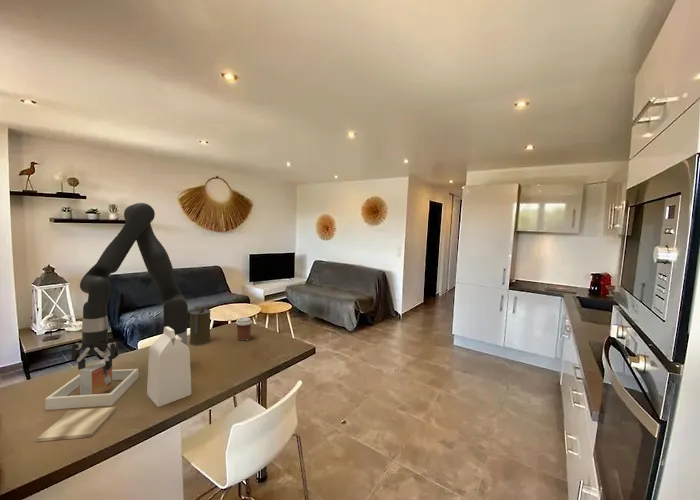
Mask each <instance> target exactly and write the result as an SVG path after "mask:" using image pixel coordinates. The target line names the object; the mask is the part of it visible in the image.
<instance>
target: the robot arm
mask: <svg viewBox="0 0 700 500" xmlns="http://www.w3.org/2000/svg"><path fill="white" fill-rule="evenodd" d="M155 213H156V212H155V209H154V208H153V207H152V206H151V205H150V204H148V203H145V202H138V203H133V204H131V205H129V206H127V207H126V208H125V209H124V212H123V218H124V220H125V223H124V225H123V227H122V228H121V229H120V231H119V233H117V235H116V236H115V237H114V238H113V239H112V241H111V242H110V243H109V244H108V245H107V246H106V248H104V250H103V252H102V254H101V255H100V256H99V259H97V262H96V263H95V264H94V265H93V266H92V267H91V268H89V270H88V271H87V272H86V273H85V274H84V276H83V277H82V278H81V280H80V283H79V289H80V290H81V291H82V292H83V293H84V294H87V295H88V296H87V301H85V303H83V307H82V321H81V322H82V323H81V342H82V343H81V342H75V343H74V344H72V346H71V357H70V358H71V361H77V370H79V372H80V369H83V368H86V359H85V358H87V357H88V356H93V355H94V356H100V357H101V358H103V359H104V362H105V370H109V369H110V368H111V367H112V368H113V360H114V359H116V358H117V357H118V356H119V349H118V348H119V346H118V342H117V341H114V342H109V341H108V340H109V318H108V302H109V300H110V296H111V292H112V286H111V282H110V280H109V279H108V277H109V276H110V275H111V274H114V273H117V271H119V269H120V267H121V265H122V263H123V262H124V260H125V259H126V257H127V255H128V254H129V252H130V250H131V248H132V247H133V245H135V242H136V244H137V247H138V250H139V251H140V255H141V258H142V261H143V263H144V265H145V267H146V269H147V273H148V274H149V276H150V278H151V280H152V281H153V283H154V284H155V286H156V287H157V288H158V292H159V294H160V297H161V301H162V309H163V311H162V312H163V326H162V327H163V333H164V327H170V328H172V329H173V330H174V332H175V336H176V335H177V336H179V337H180V338H182V340H181V342H182V343H184V344H185V345H187V346H188V348H189V345H188V320H189V316H188V315H189V310H188V309H189V308H188V307H189V306H188V302H187V300H186V298H185V297H184V294H182V291H181V290H180V288H179V285H178V284H177V281H176V275H175V272H174V268H173V265H172V261H171V258H170V256H169V254H168V252H167V250H166V249H165V247H164V245H162V243H161V242H160V241H159V239H158V238H157V236H156V234H155V233H154V231H153V227H152V225H151V223H152V222H153V221H154V219H155V216H156V214H155ZM163 333H162V334H163ZM81 349H82V350H83V352H81ZM189 349H190V348H189ZM80 353H81V354H80Z"/></svg>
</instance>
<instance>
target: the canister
mask: <svg viewBox="0 0 700 500" xmlns="http://www.w3.org/2000/svg"><path fill="white" fill-rule="evenodd" d="M208 342H209V343H210V342H211V309H210V308H209V309H208V308H205V306H204V305H198V306H196V307H195V309H193V310H191V311H189V344H190V345H192V346H203V344H204V345H207V344H208ZM206 343H207V344H206Z"/></svg>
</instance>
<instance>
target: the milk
mask: <svg viewBox="0 0 700 500" xmlns="http://www.w3.org/2000/svg"><path fill="white" fill-rule="evenodd" d="M181 340H182V338H180V337H179V336H177V335H176V336H175V332H174V330H173V329H172V328H170V327H164V333H162V334H161V335H160V336H159V337H158V338H157V339H156V340H155V341H154V342H152V344H151V345H150V346H149V349H148V364H147V365H148V366H147V383H146V384H147V387H146V396H148V397H149V399H151V401H152V403H154V404H155V406H157V408H160V407H162V406H164V405H168V404H171V403H173V402H175V401H178V400H181V399H183V398H185V397H188V396H191V395H192V378H191V376H192V374H191V357H190V356H191V355H190V354H191V353H190V348H188V346H189V345H188V344H187V345H188V346H187V345H185V344H184V343H182V342H181Z"/></svg>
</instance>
